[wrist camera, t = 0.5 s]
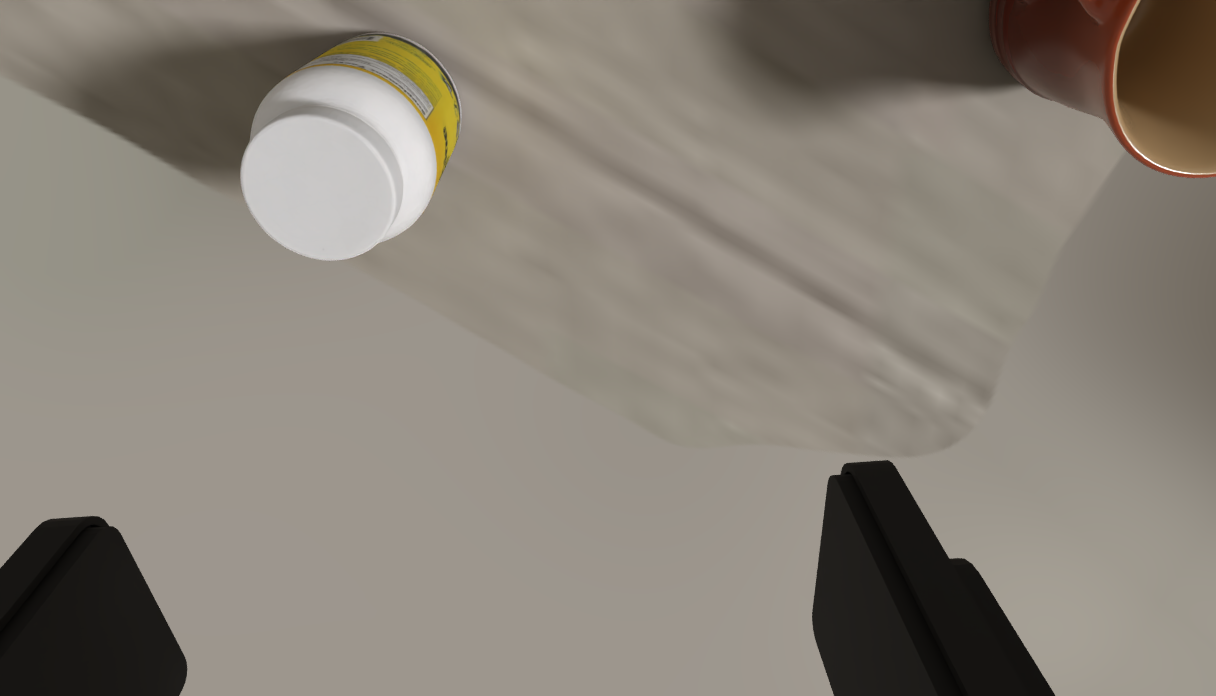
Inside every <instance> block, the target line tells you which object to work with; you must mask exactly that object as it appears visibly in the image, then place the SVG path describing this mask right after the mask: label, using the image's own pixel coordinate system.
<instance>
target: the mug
mask: <svg viewBox="0 0 1216 696" xmlns="http://www.w3.org/2000/svg"><path fill="white" fill-rule="evenodd" d="M989 30H990V37H991V41H992V45H993V48H994V51H995V53H996V55H997V57H998V59H999V60H1000V62H1001V63H1002V65H1003V66H1004V67H1005V68H1006V69H1007V70H1008V72H1009V73H1010V74H1011V75H1012V76H1013V77H1014V78H1015V79H1016V80H1017V81H1018V82H1020V83H1021V84H1022V85H1023V86H1025V87H1026V88H1027V89H1028V90H1029V91H1031V92H1033V93H1034V94H1036V95H1038V96H1040V97H1042V98H1045V99H1048V100H1051V101H1055V102H1058V103H1060V104H1062V105H1065V106H1067V107H1070V108H1072V109H1075V110H1078V111H1081V112H1084V113H1087V114H1090V115H1093V116H1096V117H1099V118H1101V119H1103V120H1104V121H1105V122H1106V124H1107V125H1108V126H1109V128H1110V129H1111V131H1112V132H1113V134H1114V135H1115V137H1116V138H1117V140H1118V141H1119V142H1120V144H1121V145H1122V146H1123V147H1124V148H1125V150H1126V151H1127V152H1128V153H1129V154H1131V155H1132V156H1133V157H1134V158H1135V159H1136V160H1138V161H1139V162H1141V163H1142V164H1144V165H1145V166H1147V167H1149V168H1151V169H1153V170H1155V171H1158V172H1161V173H1164V174H1168V175H1172V176H1177V177H1187V178H1208V177H1216V0H990V6H989Z"/></svg>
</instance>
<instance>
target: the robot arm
mask: <svg viewBox="0 0 1216 696" xmlns="http://www.w3.org/2000/svg"><path fill="white" fill-rule="evenodd" d="M812 621H813V630H814V636H815V640H816V643H817V646H818V649H819V652H820V655H821V658H822V661H823V664H824V667H825V670H826V673H827V676H828V679H829V682H830V685H831V688H832V691H833V694H834V696H1055V694H1054V693H1053V691H1052V689H1051V688H1050V686H1049V685H1048V683H1047V681H1046V680H1045V678H1044V677H1043V675H1042V673H1041V672H1040V670H1039V668H1038V667H1037V665H1036V664H1035V662H1034V660H1033V659H1032V657H1031V656H1030V654H1029V652H1028V651H1027V649H1026V648H1025V646H1024V644H1023V643H1022V641H1021V639H1020V638H1019V637H1018V635H1017V633H1016V631H1015V630H1014V628H1013V627H1012V625H1011V623H1010V622H1009V620H1008V619H1007V617H1006V615H1005V614H1004V612H1003V610H1002V609H1001V607H1000V606H999V604H998V603H997V601H996V599H995V597H994V596H993V594H992V593H991V591H990V589H989V588H988V586H987V585H986V583H985V581H984V580H983V578H982V577H981V575H980V574H979V572H978V571H977V570H976V569H975V567H974V566H973V564H971V563H970V562H968V561H967V560H966V559H962V558H961V559H960V558H955V559H949V558H948V556H947V554H946V552H945V551H944V549H943V547H942V546H941V544H940V542H939V540H938V539H937V537H936V535H935V534H934V532H933V530H932V529H931V527H930V525H929V524H928V522H927V520H926V518H925V517H924V515H923V513H922V512H921V510H920V508H919V507H918V505H917V503H916V501H915V500H914V498H913V496H912V495H911V493H910V491H909V490H908V488H907V486H906V484H905V483H904V481H903V479H902V477H901V476H900V474H899V472H898V471H897V469H896V467H895V466H894V465H893V463H892V462H890V461H888V460H886V461H871V462H857V463H846V464H844V466H843V467H842V471H841V475H832V476H830V478H829V480H828V485H827V494H826V502H825V510H824V519H823V527H822V536H821V545H820V553H819V562H818V570H817V579H816V587H815V595H814V603H813V612H812ZM186 676H187V662H186V659H185V657H184V654H183V653H182V651H181V649H180V647H179V645H178V643H177V641H176V639H175V637H174V635H173V633H172V631H171V629H170V627H169V626H168V624H167V622H166V620H165V618H164V616H163V614H162V612H161V610H160V608H159V606H158V605H157V603H156V601H155V599H154V597H153V595H152V593H151V591H150V589H149V587H148V585H147V584H146V581H145V579H144V578H143V576H142V574H141V572H140V570H139V568H138V566H137V564H136V562H135V561H134V558H133V557H132V554H131V553H130V551H129V549H128V547H127V545H126V543H125V542H124V539H123V537H122V535H121V533H120V532H119V531H118V530H117V529H116V528H114V527H111V526H109V525H108V524H107V523H106V521H105V520H104V519H102V518H100V517H97V516H89V517H73V518H59V519H50V520H47V521H44V522H42V523H41V524H40V525H39V526H38V527H37V528H36V529H35V530H34V531H33V532H32V533H31V534H30V535H29V537H28V538H27V539H26V540H25V541H24V542H23V543H22V545H21V546H20V547H19V548H18V549H17V550H16V551H15V552H14V554H13V555H12V556H11V557H10V558H9V559H8V560H7V561H6V563H5V564H4V565H3V566H2V567H1V568H0V696H179V695H180V693H181V691H182V689H183V686H184V684H185V681H186Z"/></svg>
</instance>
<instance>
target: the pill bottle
mask: <svg viewBox="0 0 1216 696" xmlns="http://www.w3.org/2000/svg"><path fill="white" fill-rule="evenodd" d="M460 128H461V104H460V99H459V95H458V92H457V89H456V86H455V84H454V82H453V80H452V78H451V76H450V75H449V73H448V72H447V70H446V69H445V68H444V66H443V65H442V63H441V62H440V61H439V60H438V59H437V58H436V57H435V56H434V55H433V54H432V53H431V52H430V51H428V50H427V49H426V48H424V47H423V46H421V45H420V44H418V43H416V42H414V41H412V40H410V39H408V38H405V37H402V36H399V35H396V34H391V33H383V32H374V33H366V34H362V35H358V36H355V37H353V38H350V39H348V40H346V41H344V42H342V43H340V44H338V45H337V46H335V47H333V48H331V49H330V50H328V51H327V52H325V53H323V54H322V55H320V56H319V57H317V58H316V59H314V60H312V61H311V62H309V63H307V64H306V65H304V66H302V67H301V68H300V69H298V70H297V71H295V72H293V73H292V74H290V75H289V76H287V77H286V78H284V79H283V80H282V81H280V82H279V83H278V84H277V85H276V86H275V87H274V88H273V89H272V90H271V91H270V92H269V93H268V94H267V95H266V96H265V98H264V99H263V101H262V102H261V104H260V106H259V107H258V110H257V112H256V114H255V117H254V120H253V123H252V127H251V134H250V142H249V143H248V145H247V147H246V150H245V152H244V155H243V158H242V162H241V169H240V181H241V188H242V192H243V196H244V199H245V202H246V204H247V207H248V209H249V211H250V213H251V214H252V216H253V217H254V219H255V220H256V222H257V223H258V224H259V225H260V227H261V228H262V229H263V230H264V231H265V232H266V233H267V234H268V235H269V236H270V237H271V238H273V239H274V240H275V241H276V242H278V243H279V244H281V245H282V246H284V247H286V248H287V249H289V250H291V251H293V252H295V253H297V254H300V255H303V256H306V257H309V258H313V259H319V260H331V261H332V260H343V259H349V258H352V257H355V256H358V255H361V254H363V253H365V252H367V251H368V250H370V249H371V248H373V247H374V246H375V245H376V244H377V243H380V242H383V241H386V240H389V239H391V238H393V237H395V236H397V235H399V234H400V233H402V232H403V231H405V230H406V229H408V228H409V227H410V226H411V225H412V224H413V223H414V222H415V221H416V220H417V219H418V218H419V217H420V216H421V214H423V212H424V210H425V209H426V207H427V205H428V203H429V201H430V199H431V197H432V195H433V193H434V191H435V188H436V186H437V184H438V182H439V180H440V178H441V175H442V173H443V171H444V169H445V167H446V165H447V162H448V160H449V158H450V156H451V154H452V152H453V150H454V147H455V145H456V142H457V140H458V137H459V133H460Z"/></svg>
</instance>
